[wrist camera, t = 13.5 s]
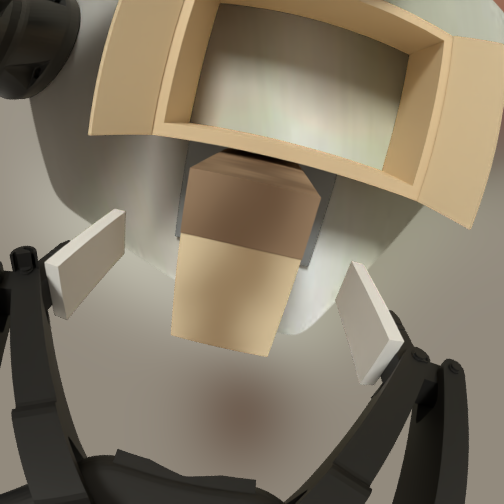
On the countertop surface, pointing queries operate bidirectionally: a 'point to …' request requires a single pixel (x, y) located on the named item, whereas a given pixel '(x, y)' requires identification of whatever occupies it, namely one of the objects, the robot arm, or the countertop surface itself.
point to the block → (240, 248)
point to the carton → (390, 178)
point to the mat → (317, 177)
